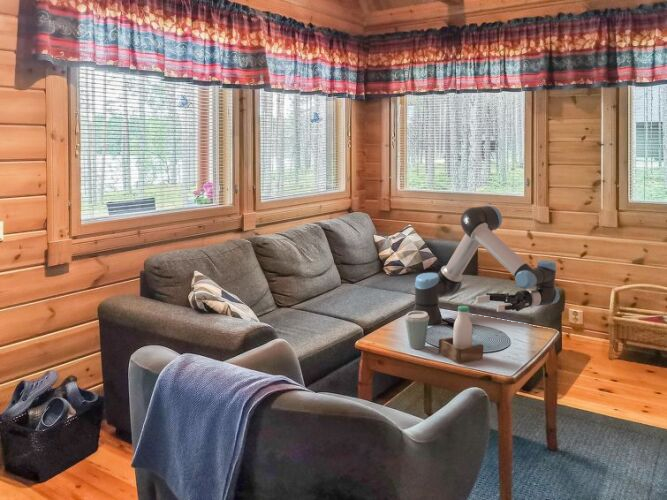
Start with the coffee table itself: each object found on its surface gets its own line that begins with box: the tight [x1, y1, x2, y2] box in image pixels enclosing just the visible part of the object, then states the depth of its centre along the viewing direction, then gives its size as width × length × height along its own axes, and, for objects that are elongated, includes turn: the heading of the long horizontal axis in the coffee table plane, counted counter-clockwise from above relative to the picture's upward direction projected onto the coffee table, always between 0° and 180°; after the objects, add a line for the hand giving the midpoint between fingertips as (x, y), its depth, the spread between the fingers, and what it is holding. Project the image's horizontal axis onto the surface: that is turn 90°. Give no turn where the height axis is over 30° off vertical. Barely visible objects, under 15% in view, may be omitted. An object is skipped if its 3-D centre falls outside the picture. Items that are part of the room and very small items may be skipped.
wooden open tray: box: [438, 336, 484, 365], centre depth 247 cm, size 14×12×6 cm
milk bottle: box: [452, 305, 473, 348], centre depth 246 cm, size 8×8×20 cm
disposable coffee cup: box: [404, 310, 429, 350], centre depth 258 cm, size 11×11×15 cm
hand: (486, 303), depth 248 cm, fingers open, 13 cm apart
